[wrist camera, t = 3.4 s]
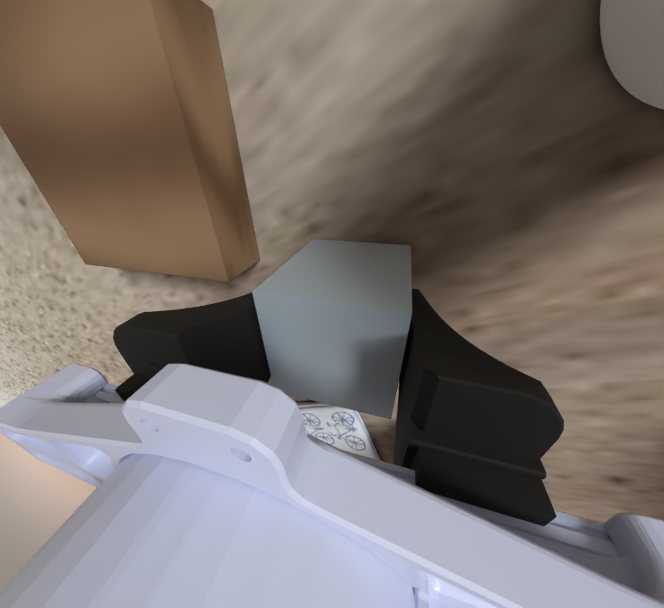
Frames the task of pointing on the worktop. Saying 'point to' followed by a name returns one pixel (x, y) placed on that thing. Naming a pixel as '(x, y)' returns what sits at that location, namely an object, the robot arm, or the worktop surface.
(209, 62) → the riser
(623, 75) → the pill bottle
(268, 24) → the worktop surface
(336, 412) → the white bicycle print cloth
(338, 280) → the slate cube
